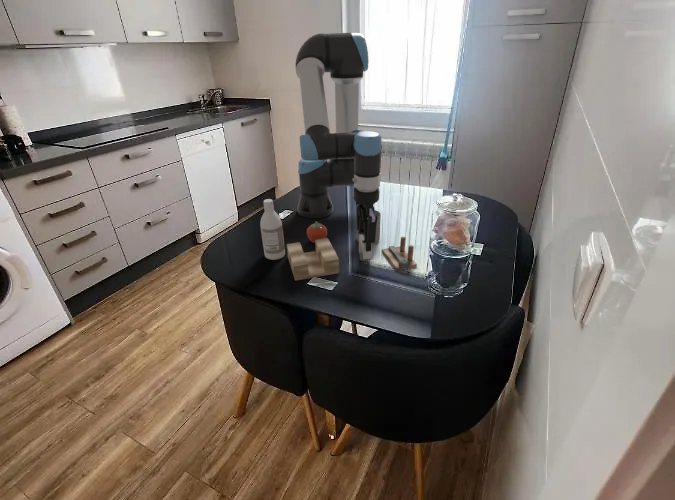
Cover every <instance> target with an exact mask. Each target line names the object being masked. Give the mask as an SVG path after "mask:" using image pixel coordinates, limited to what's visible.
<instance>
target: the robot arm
mask: <svg viewBox="0 0 675 500" xmlns="http://www.w3.org/2000/svg"><path fill="white" fill-rule="evenodd" d="M369 63H370V62H369V51H368V46H367V41H366V38H365V36H364V35H363V34H362V33H360V32H359V33H358V32H340V33H339V32H337V33H336V32H335V33H333V32H331V33H330V32H329V33H317V34H314V35H312V36H311V37H309V38H308V39H307V40H305V42H304V43H303V44H302V45H301V47H300V48H299V51H298V52H297V55H296V58H295V74H296V77H297V78H298V79H299V83H300V84H299V85H300V94H301V95H300V96H301V103H302V105H301V106H302V115H303V124H304V134H301V135H300V136H299V148H300V151H299V152H300V158H301V159H299V161H298V167H297V168H298V171H297V172H298V173H297V174H298V177H299V178H298V180H299V192H300V193H299V200H298V203H297V207H296V208H297V214H298V215H299V216H301V217H303V218H306V219H307V218H308V219H321V218H326V217H328V216H330V215H332V214H333V212H334V204H333V202H332V199H331V196H330V193H329V188H340V187H353V200H354V201H355V207H356V231H357V230H358V233H359V234H360V233H361V232H364V240H363V241H362V243H363V259H369V258H370V259H372V253H373V252H372V251H373V250H372V248H373V244H372V243H375V237H376V224H377V219H378V217H377V215H376V216H374V211H375V210H376V209H375V206H374V205H375V204H376V203H377V202H379V200H380V187H381V165H382V164H381V162H382V159H381V158H382V149H383V144H382V136H381V134H380V133H379V132H376V131H370V130H367V131H366V130H364V129H362V128H359V103H360V102H359V97H360V96H359V95H360V94H359V92H360V91H359V89H360V87H359V86H360V82H361V80H362V79H363V78H364V72H366V71H368V69H369ZM325 73H330V79H331V81H333V83H334V96H335V97H334V99H335V100H334V104H335V106H334V107H335V111H334V112H335V132H334V133H333V132H330V130H331V129H330V125H329V115H328V106H327V100H326V99H327V98H326V92H325V91H326V90H325V85H324V78H323V77H324V75H325ZM358 253H359V254H360V235H359V242H358Z"/></svg>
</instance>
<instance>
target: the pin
mask: <svg viewBox="0 0 675 500" xmlns="http://www.w3.org/2000/svg"><path fill="white" fill-rule="evenodd" d="M363 240H364V232H361V233H360V253H359V260H360V261H361V262H370V260H371V258H369V259H363V243H362V241H363Z"/></svg>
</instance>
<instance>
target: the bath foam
mask: <svg viewBox="0 0 675 500" xmlns="http://www.w3.org/2000/svg"><path fill="white" fill-rule="evenodd" d="M274 206H275V205H274V201H273V199H271V198H267V199H264V200H263V208H264V212H263V214H262V216H261V218H260V223H259V224H260V225H259V227H260V232H261V239H262V248H263V253H264V257H265V258H266V259H268V260H272V261H273V260H274V261H275V260H280V259H282V258H283V257H285V255H286V249H285V248H286V247H285V241H284V240H285V239H284V230H283V224H282V223H283V222H282V219H281V217H280V216H279V214H278V213H277V212H276V211H275V209H274V208H275V207H274Z"/></svg>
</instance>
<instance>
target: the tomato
mask: <svg viewBox="0 0 675 500" xmlns="http://www.w3.org/2000/svg"><path fill="white" fill-rule="evenodd" d="M306 235H307V238H308V239H309V241H310V242H311V243H312V244H315V240H317V239H324V238H327V236H328V228H327V227H326V226H325V225H324V224H322V223H321V222H318V221H316V220H315V222H314V223H312V224H310V225H309V226H308V227H307V229H306Z"/></svg>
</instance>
